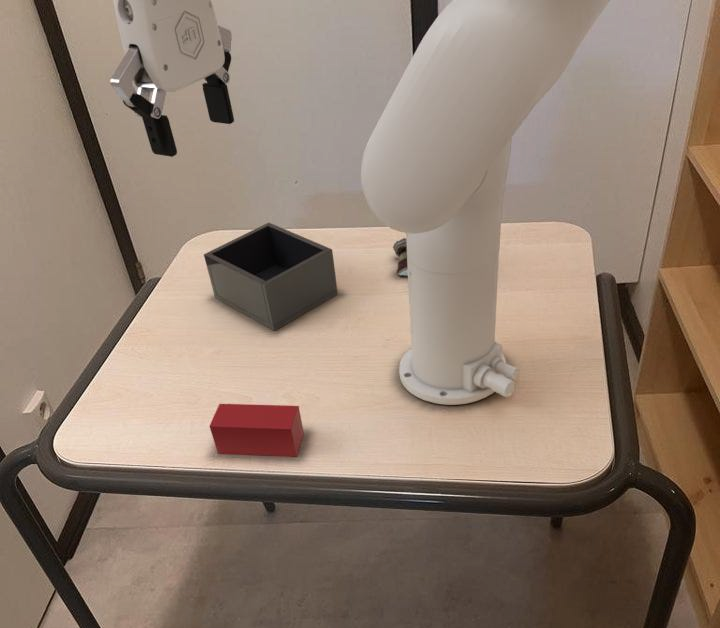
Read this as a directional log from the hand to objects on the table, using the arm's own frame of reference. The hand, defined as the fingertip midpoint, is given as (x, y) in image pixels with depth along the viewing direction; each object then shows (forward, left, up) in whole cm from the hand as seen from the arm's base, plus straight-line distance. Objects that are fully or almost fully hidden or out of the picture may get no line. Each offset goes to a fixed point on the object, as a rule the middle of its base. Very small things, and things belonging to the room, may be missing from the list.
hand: (194, 137), depth 80 cm
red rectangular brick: (-21, +13, -24) cm, 35 cm away
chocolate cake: (-11, -26, -25) cm, 37 cm away
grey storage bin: (+2, -8, -24) cm, 26 cm away
